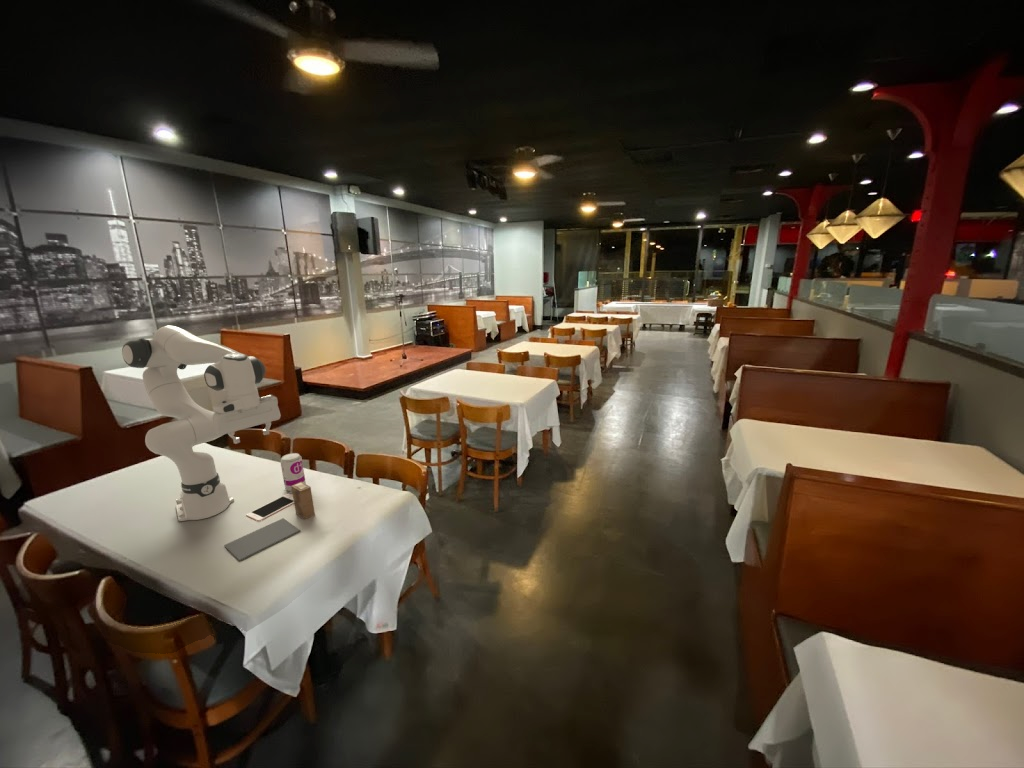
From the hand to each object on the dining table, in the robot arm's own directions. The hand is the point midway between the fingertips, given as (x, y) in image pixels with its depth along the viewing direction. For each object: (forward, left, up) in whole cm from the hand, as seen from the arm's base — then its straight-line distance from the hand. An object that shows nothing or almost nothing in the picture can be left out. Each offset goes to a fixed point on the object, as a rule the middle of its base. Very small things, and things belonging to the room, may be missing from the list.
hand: (252, 438), depth 145 cm
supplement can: (-22, +20, -36) cm, 47 cm away
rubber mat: (+6, -5, -36) cm, 36 cm away
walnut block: (+2, +12, -36) cm, 38 cm away
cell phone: (-13, +7, -36) cm, 39 cm away
